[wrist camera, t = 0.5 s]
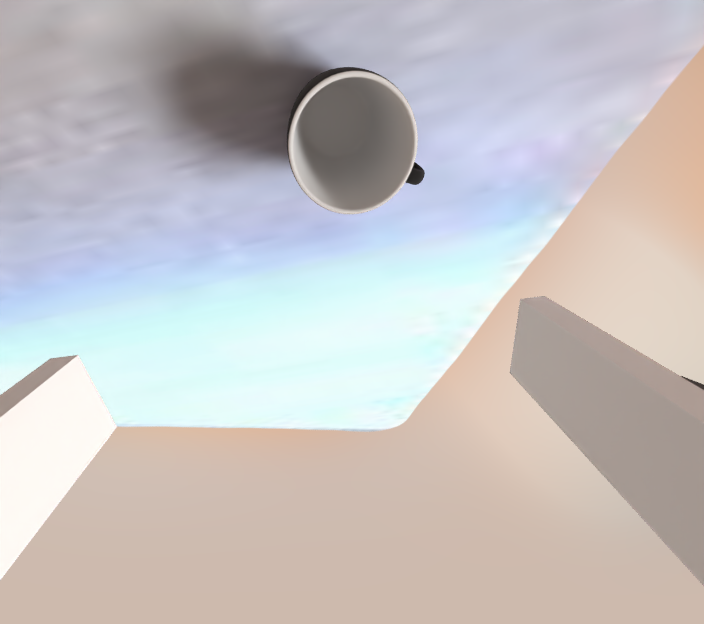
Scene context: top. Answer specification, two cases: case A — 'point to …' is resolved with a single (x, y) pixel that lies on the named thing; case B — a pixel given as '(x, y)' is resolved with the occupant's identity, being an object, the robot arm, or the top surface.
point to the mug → (352, 140)
